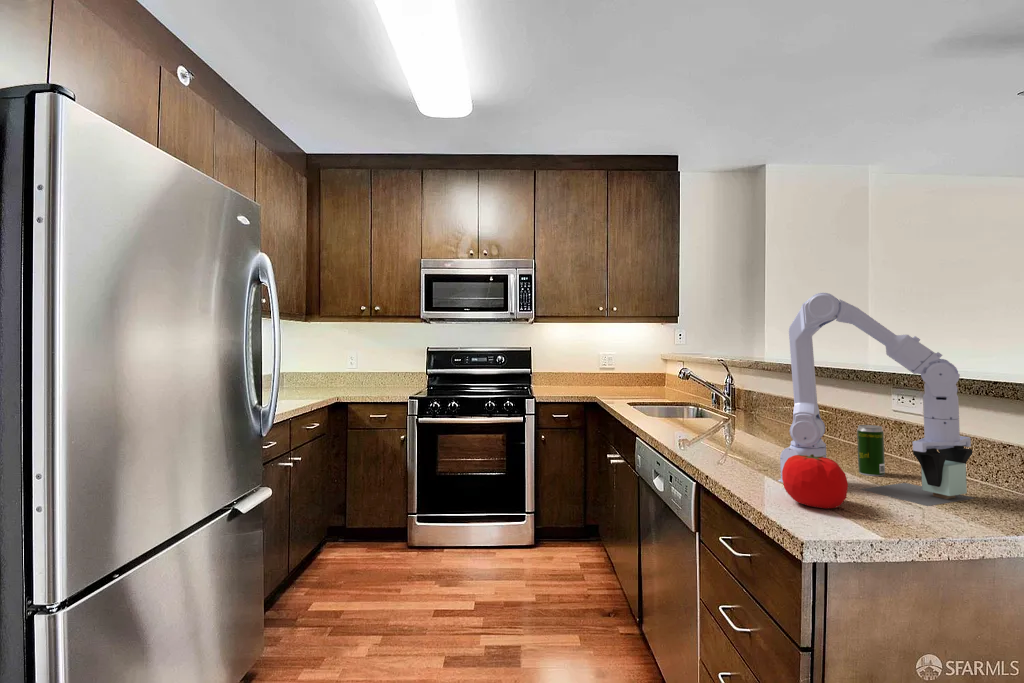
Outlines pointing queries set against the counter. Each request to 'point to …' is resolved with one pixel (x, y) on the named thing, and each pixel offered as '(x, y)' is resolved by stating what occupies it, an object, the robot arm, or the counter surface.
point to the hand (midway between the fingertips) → (943, 484)
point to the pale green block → (949, 480)
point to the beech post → (943, 496)
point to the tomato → (815, 481)
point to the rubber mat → (913, 494)
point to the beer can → (870, 450)
